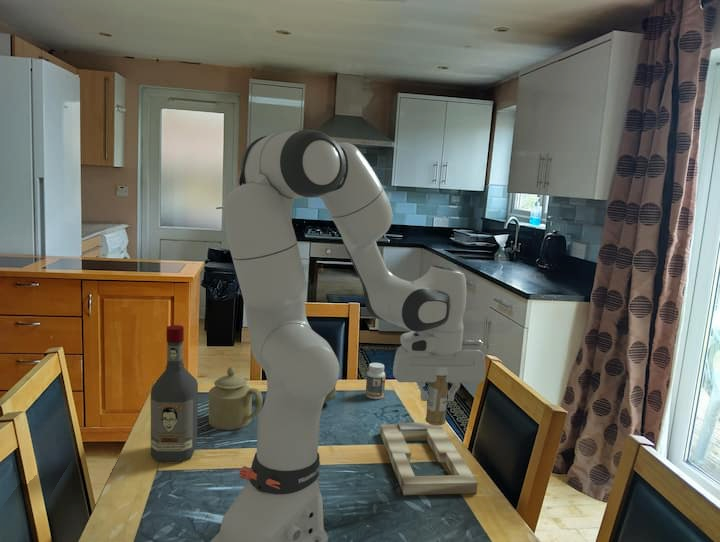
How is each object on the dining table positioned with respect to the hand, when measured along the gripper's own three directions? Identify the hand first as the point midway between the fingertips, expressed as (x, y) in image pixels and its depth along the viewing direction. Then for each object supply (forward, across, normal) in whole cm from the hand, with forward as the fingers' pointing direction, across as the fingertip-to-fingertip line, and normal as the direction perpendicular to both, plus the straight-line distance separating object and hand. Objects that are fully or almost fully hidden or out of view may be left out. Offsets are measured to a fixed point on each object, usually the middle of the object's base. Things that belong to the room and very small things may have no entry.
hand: (436, 400), depth 119 cm
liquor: (+18, +58, -11) cm, 62 cm away
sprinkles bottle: (+5, 0, 0) cm, 5 cm away
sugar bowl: (+18, +45, -28) cm, 56 cm away
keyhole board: (+18, 0, -6) cm, 19 cm away
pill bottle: (+18, +5, -45) cm, 49 cm away
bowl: (+18, +26, -41) cm, 52 cm away
